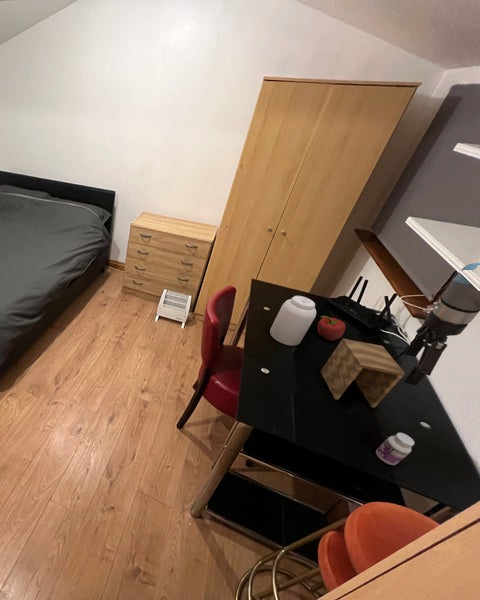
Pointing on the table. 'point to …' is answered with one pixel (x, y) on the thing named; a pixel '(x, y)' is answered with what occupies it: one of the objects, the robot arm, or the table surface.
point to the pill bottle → (395, 448)
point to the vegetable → (330, 328)
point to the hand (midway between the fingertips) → (409, 368)
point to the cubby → (361, 370)
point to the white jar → (293, 320)
